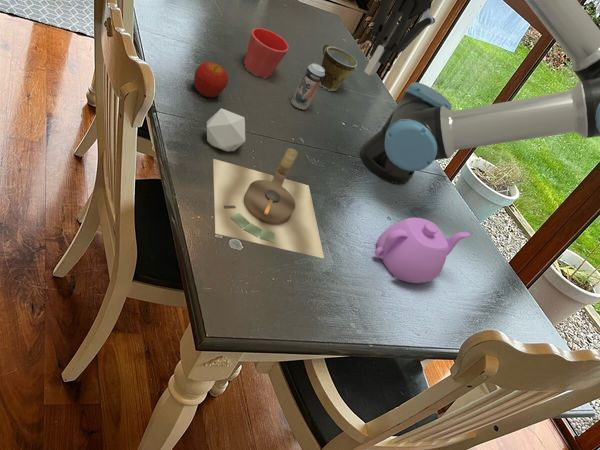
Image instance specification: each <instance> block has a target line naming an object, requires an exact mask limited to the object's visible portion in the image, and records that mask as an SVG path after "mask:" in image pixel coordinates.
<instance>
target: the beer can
mask: <svg viewBox="0 0 600 450" xmlns="http://www.w3.org/2000/svg"><path fill="white" fill-rule="evenodd" d="M324 76H325V69H324V68H323V67H322V65H320V64H318V63H316V62H314V63H310V64H309V65H308V66H307V68H306V71H305V72H304V75H303V76H302V79H300V82H299V84H298V86H297V88H296V90H295V92H294V94H293V97H292V98H291V104H292V105H293V107H294V108H296V107H297V108H296V109H298V108H299V109H298V110H300V109H302V110H307V109H308V108H309V106H310V104H311V102H312V100H313V99H314V96H315V94H316V92H317V90H318V88H319V87H320V83H321V81H322V79H323V77H324Z"/></svg>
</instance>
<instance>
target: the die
mask: <svg viewBox="0 0 600 450" xmlns="http://www.w3.org/2000/svg"><path fill="white" fill-rule="evenodd" d="M206 142H207V143H209V144H210V145H211V146H212V147H214V148H216V149H219V150H222V151H224V152H235V151H236V150H237V149H238V148H239V147H240V146H242V145H243V144H244V143H246V119H245V117H244V116H242V115H239V114H238V113H234V112H233V111H229V110H227V109H224V108H221V107H220V108H219V110H218V111H216V113H215V114H213V115H212V116H211V117H210V118H209V119H208V120H207V121H206Z"/></svg>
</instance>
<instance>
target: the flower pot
mask: <svg viewBox="0 0 600 450" xmlns="http://www.w3.org/2000/svg"><path fill="white" fill-rule="evenodd" d="M246 48H247V50H246V54H245V58H244V62H243V65H244V64H245V66H246V68H247V69H248V70H249V71H251V72H252V73H254V74H256V75H258V76H261V77H267V78H269V77H270V76H271V75H272V74H273V72H274V70H276V68H277V67H278V66H279V64H280V63H281V61H282V60H283V59H284V57H285V55H286V54H287V52H288V51H289V48H290V47H289V44H288V42H287V41H286V40H285V39H284V38H283V37H281V36H280V35H278V34H276V33H275V32H273V31H271V30H268V29H266V28H263V27H262V28H260V27H257V28H255V27H254V29H252V31H251V34H250V37H249V41H248V45H247V47H246ZM245 66H244V67H245ZM246 68H245V69H246ZM247 69H246V70H247ZM248 70H247V71H248ZM249 71H248V72H249ZM252 73H251V74H252ZM258 76H257V77H258ZM261 77H260V78H261Z"/></svg>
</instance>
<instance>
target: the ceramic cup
mask: <svg viewBox="0 0 600 450" xmlns="http://www.w3.org/2000/svg"><path fill="white" fill-rule="evenodd" d="M322 54H323V58H322V62H321V66H322V67H323V68H324V69H325V76H324V77H323V79H322V81H321V85H322V86H324V87H326V88H327V89H329V90H337V91H338V89H339V88H340V87H341V85H342V84H343V83H344V82H345V81H346V79H347V78H348V77H349V76H351V74H352V73H353V71H355V69H356V67H357V65H358V61H357V60H356V58H355V57H354V56H353V55H351V54H350V53H348V52H347V51H345V50H344V49H341V48H340V47H336V46H331V45H330V44H324V46H323V48H322Z"/></svg>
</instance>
